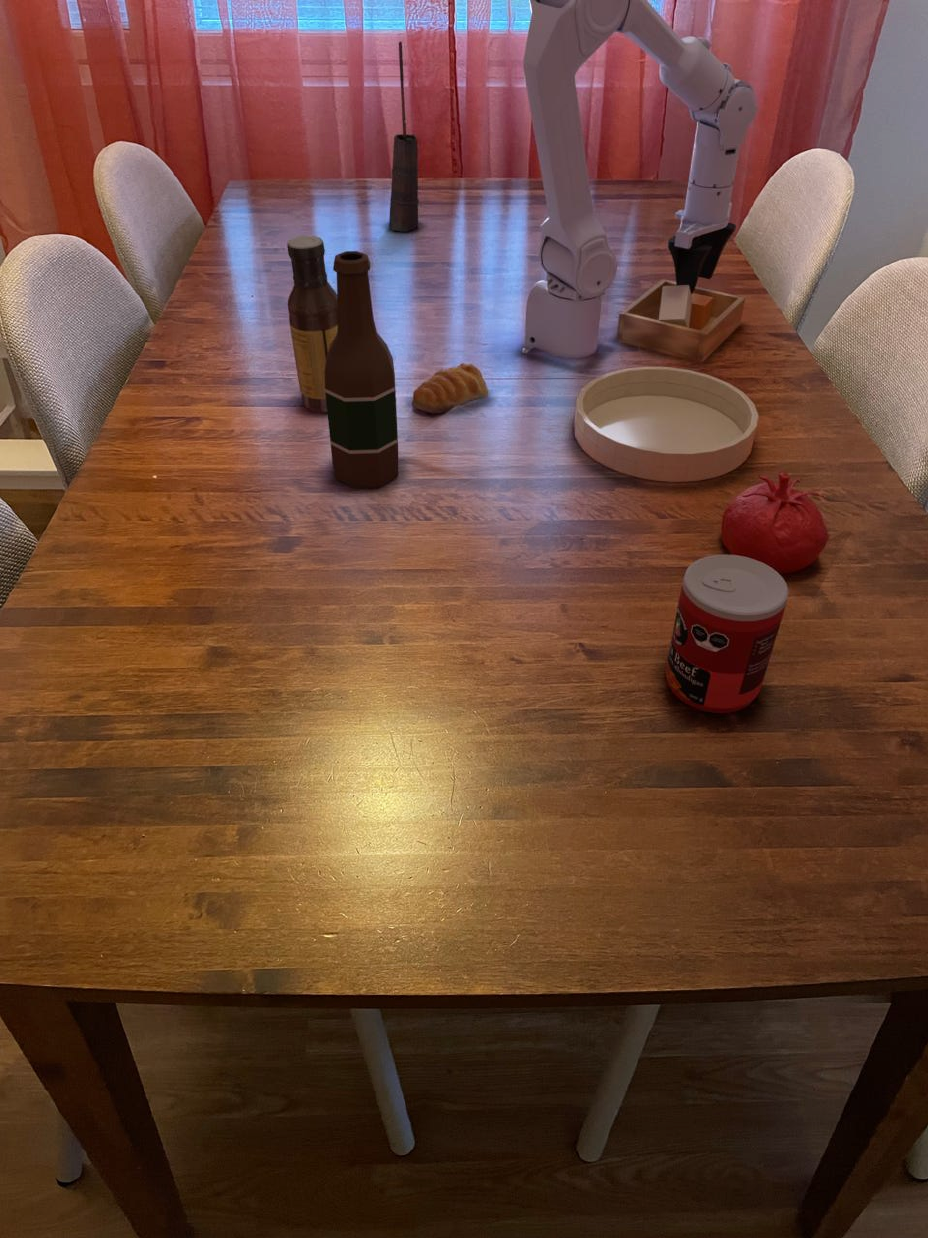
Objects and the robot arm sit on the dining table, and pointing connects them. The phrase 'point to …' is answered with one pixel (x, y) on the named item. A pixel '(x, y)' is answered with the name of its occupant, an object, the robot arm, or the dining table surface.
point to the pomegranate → (775, 525)
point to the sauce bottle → (311, 318)
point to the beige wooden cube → (676, 305)
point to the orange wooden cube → (700, 311)
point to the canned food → (724, 632)
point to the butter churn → (404, 174)
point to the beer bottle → (360, 384)
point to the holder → (675, 340)
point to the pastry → (450, 389)
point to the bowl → (665, 423)
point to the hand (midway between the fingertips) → (694, 284)
